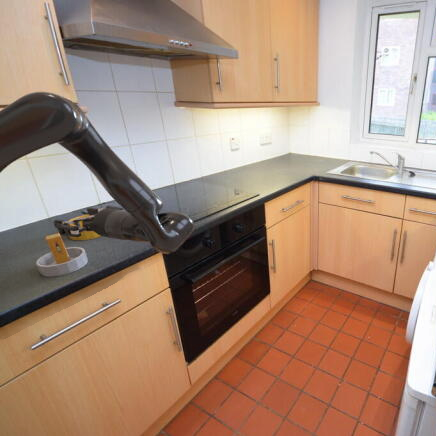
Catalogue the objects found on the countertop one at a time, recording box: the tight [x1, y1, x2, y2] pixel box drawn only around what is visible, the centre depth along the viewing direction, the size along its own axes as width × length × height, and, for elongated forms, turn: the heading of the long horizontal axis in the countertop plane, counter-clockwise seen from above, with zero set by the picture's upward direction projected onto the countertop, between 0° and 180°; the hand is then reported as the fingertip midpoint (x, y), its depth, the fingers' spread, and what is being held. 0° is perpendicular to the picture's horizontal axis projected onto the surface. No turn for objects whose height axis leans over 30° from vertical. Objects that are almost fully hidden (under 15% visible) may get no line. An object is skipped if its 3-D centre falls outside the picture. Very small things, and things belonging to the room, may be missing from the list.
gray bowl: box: [35, 246, 89, 278], centre depth 90 cm, size 11×11×4 cm
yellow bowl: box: [68, 214, 102, 241], centre depth 110 cm, size 13×13×5 cm
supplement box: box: [45, 232, 70, 264], centre depth 88 cm, size 3×3×10 cm
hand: (73, 217), depth 81 cm, fingers open, 8 cm apart
